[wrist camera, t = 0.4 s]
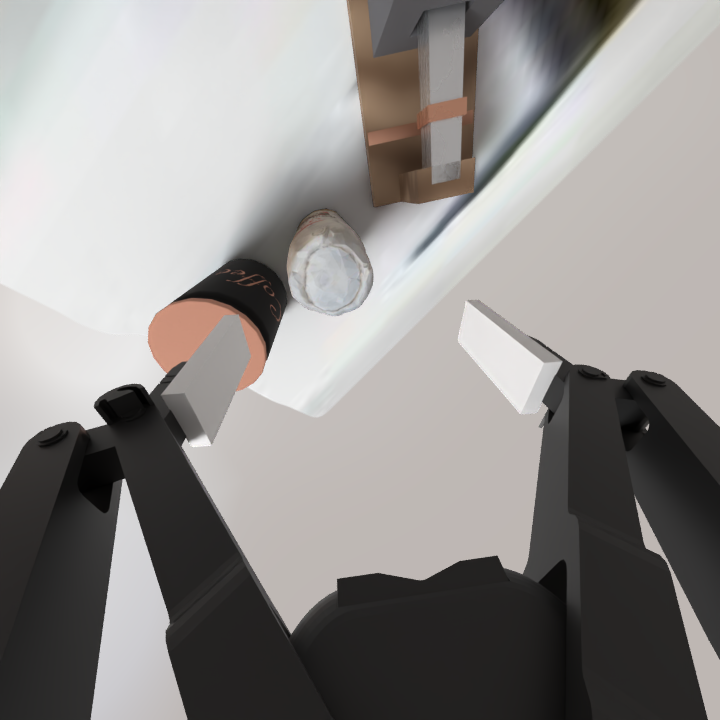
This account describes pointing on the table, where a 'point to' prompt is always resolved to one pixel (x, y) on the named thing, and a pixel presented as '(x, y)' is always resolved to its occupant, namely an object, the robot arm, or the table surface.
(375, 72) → the pipe stand
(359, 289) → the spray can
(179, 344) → the coffee jar
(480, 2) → the tall grey notched block
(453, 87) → the light grey long bar
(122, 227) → the table surface
